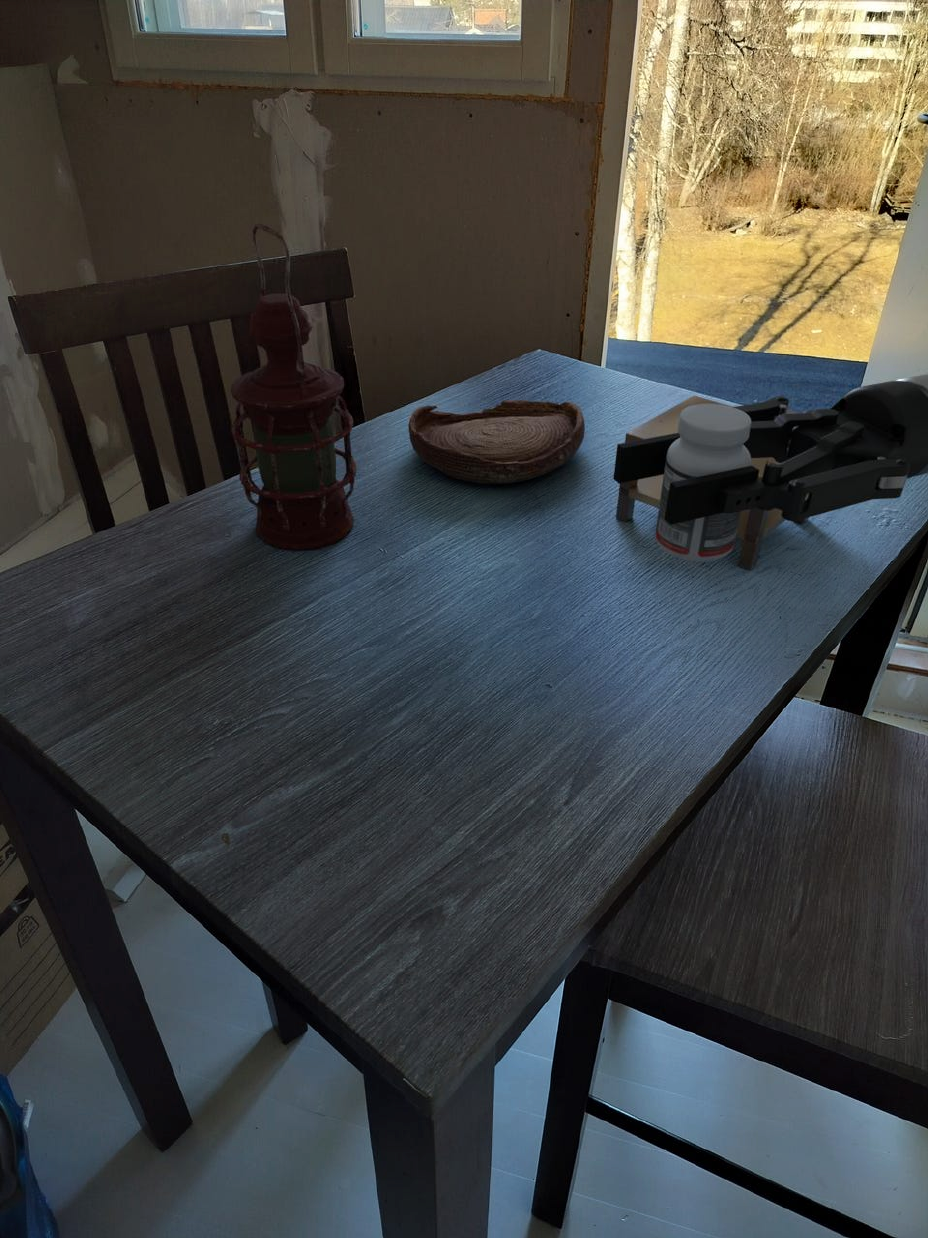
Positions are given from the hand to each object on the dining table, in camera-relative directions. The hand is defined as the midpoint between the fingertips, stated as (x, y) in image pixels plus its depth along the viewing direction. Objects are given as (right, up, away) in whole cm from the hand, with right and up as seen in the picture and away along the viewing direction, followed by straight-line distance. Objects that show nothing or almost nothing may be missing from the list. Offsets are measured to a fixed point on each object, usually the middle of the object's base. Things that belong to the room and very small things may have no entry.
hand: (643, 482), depth 58 cm
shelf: (+15, +2, +36) cm, 39 cm away
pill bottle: (+5, -4, +5) cm, 8 cm away
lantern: (-29, +1, +35) cm, 45 cm away
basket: (-8, +11, +49) cm, 51 cm away
